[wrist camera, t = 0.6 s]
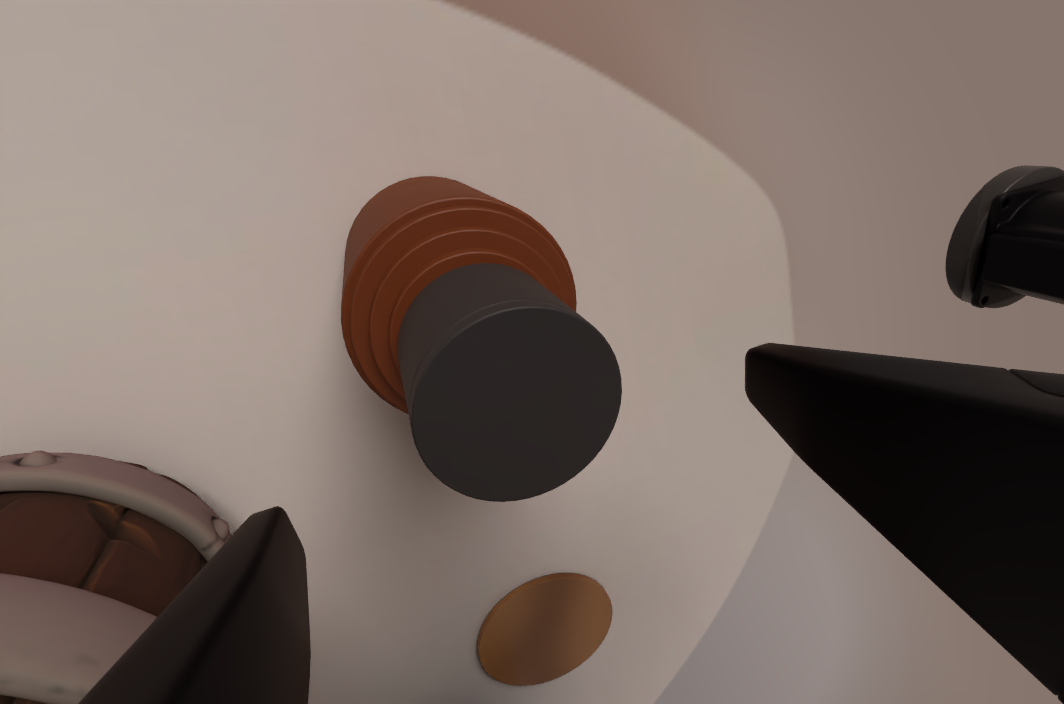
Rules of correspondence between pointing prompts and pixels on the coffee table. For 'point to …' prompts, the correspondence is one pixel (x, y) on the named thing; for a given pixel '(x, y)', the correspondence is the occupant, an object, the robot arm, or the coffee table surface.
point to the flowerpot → (88, 566)
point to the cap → (504, 383)
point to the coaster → (544, 629)
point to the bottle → (430, 263)
